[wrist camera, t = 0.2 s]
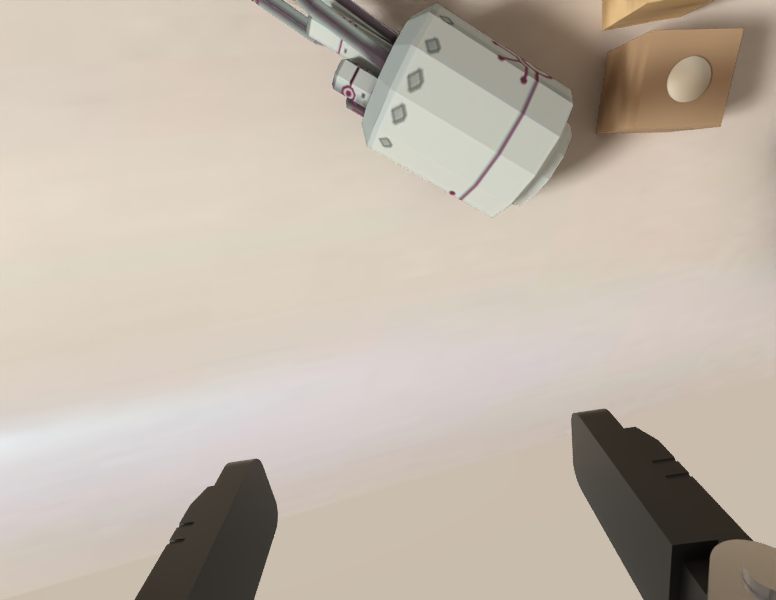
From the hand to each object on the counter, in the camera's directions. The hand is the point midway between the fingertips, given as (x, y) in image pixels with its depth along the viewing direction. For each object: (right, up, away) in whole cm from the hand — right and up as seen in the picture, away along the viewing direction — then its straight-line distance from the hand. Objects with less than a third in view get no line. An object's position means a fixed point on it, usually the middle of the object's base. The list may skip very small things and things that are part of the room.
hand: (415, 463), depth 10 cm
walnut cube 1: (+20, +21, +23) cm, 37 cm away
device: (-3, +23, +23) cm, 32 cm away
